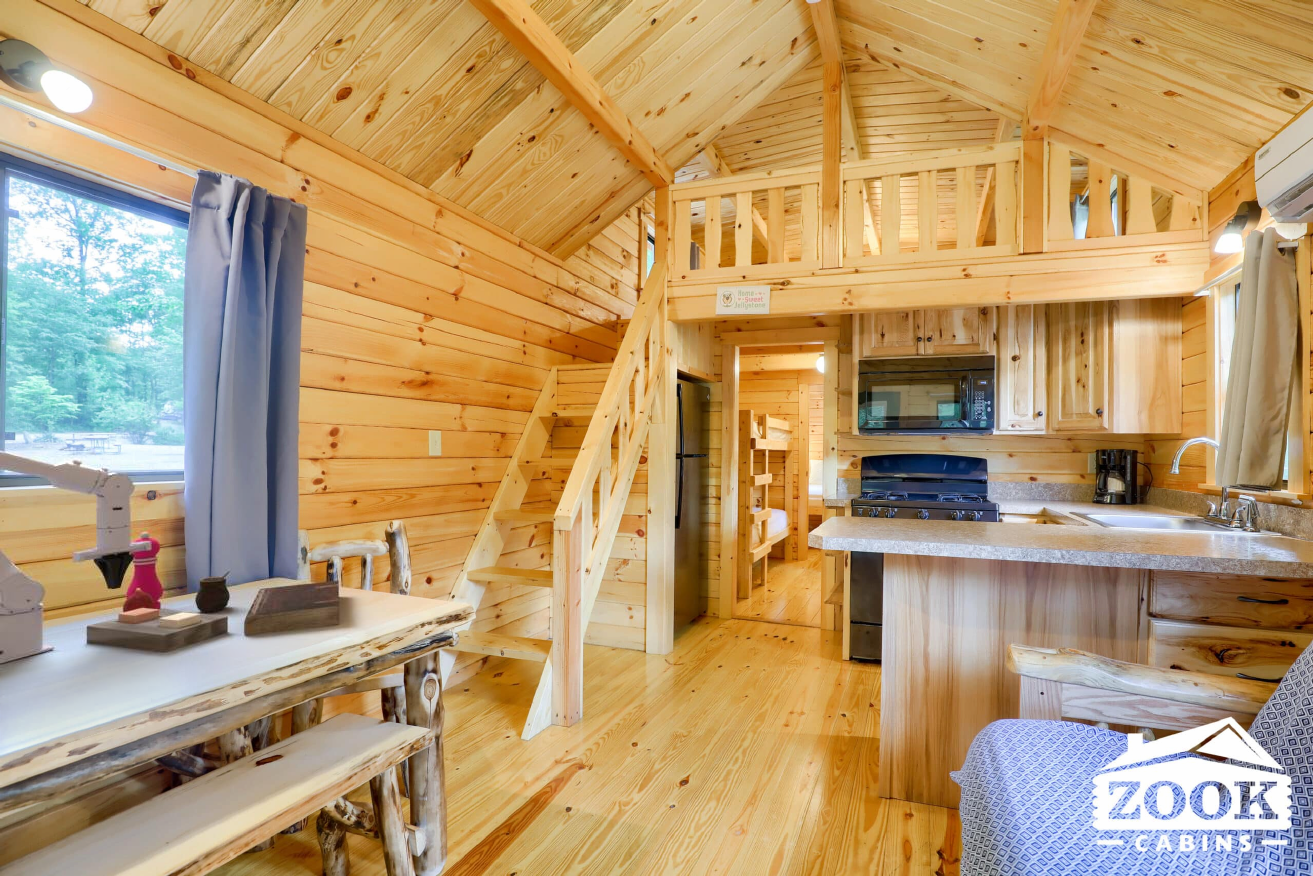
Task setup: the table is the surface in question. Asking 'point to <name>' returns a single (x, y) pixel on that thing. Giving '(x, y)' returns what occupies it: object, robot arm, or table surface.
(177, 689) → the table surface
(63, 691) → the table surface
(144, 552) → the pepper mill
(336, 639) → the table surface
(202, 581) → the mate gourd
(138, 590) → the onion
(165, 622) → the cream key
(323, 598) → the hardback book
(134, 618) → the terracotta key
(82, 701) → the table surface
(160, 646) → the key bed
